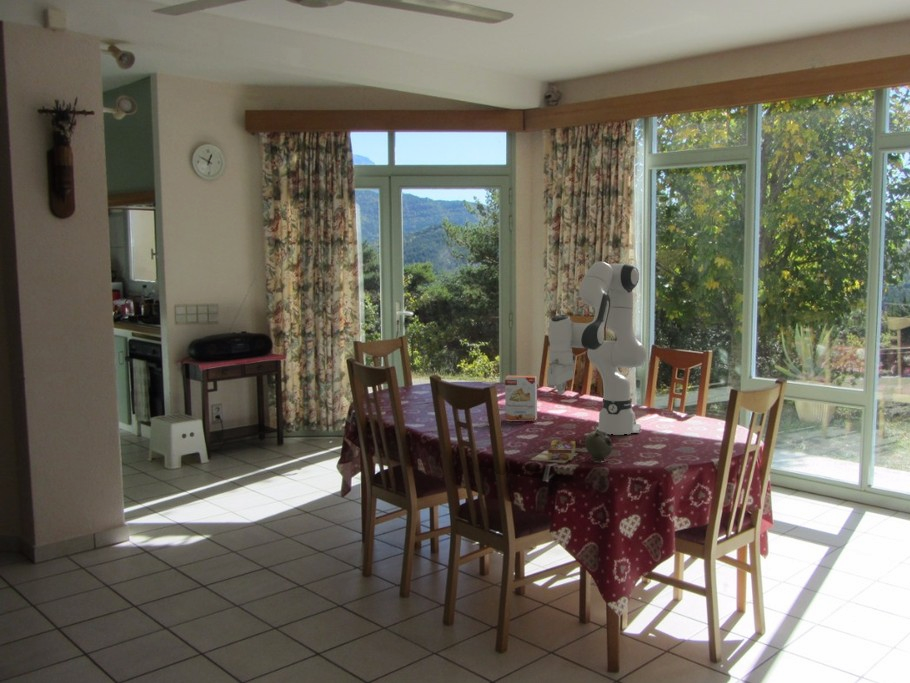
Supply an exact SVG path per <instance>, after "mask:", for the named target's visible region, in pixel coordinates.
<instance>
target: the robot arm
mask: <svg viewBox="0 0 910 683" xmlns="http://www.w3.org/2000/svg"><path fill="white" fill-rule="evenodd" d="M639 279H640V272H639V270H638V268H637V266H635V265H634V264H631V263H617V262H616V263H614V262H613V263H607V262H605V261H596V262H594V263H593V264H592V265H591V266H590V267H589V268H588V270H587V271H586V273H585V275H584V276H583V278H582V280H581V282H580V285H579V288H578V295H579V297H580V299H581V301H582V302H583V303H584V304H585V305H587V306H589V307H591V308H594V309H595V312H594V316H593V320H592V321H590V322H575V321H572V319H571V317H570V315H565V314H560V315H554V316H552V317H551V318H550V320H549V324H548V325H549V326H548V342H549V347H548V348H549V349H548V363H549V364H550V365H548V368H547V376H546V378H547V381H546V382H547V386H548V387H549V386H550V387H556V390H557V395H558V396H560V395H561V396H562V395H564V394H565V390H566V384H567V382H568V381H570V380H573V379H574V377H575V366H576V365H575V364H576V363H575V362H576V361H577V360H576V354H575V353H573V348H577V349H586V350H587V352H586V353H587V358H588V360H589V362H590V363H591V364H592V365H594V367H595V368H596V369H597V370H598V373H599V374H600V377H601V380H602V386H603V399H602V402H601V404H602V409H601V410H600V411H599V414H598V415H599V416H598V426H597V427H595V429H596V428H597V429H598V430H599V431H601V432H605V433H606V434H607V435H611V434H613V436H623V435H624V434H627V435H632V434H631V433H638V434H640V431H641V428H640V427H642V425H641V424H639V423H637V421H636V418H637V417H636V413H635V412H634V410H633V409H632V407H633V406H632V404H633V403H632V402H633V398H632V397H631V383H630V380H629V379H628V378H627V376H625V375H623V374H622V373H621V371H620V369H619V368H625V369H626V368H628V369H629V368H630V369H632V368H638V367H641V366H643V365H645V363H646V360H647V358H648V353H647V349H646V347H645V346H644V344H642V342H640V341H639V339H638V338H637V336H636V334H635V331H634V326H633V318H634V317H633V316H634V293H633V290H634V289H635V288H636V287H637V285H638V284H639ZM608 291H609V292H608ZM606 328H607V330H609V331H610V332H612V333H614V334H615V337H616V340H605V336H606V333H605V332H606ZM597 429H596V430H597ZM639 430H640V431H639ZM624 436H625V435H624Z"/></svg>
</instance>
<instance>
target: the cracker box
mask: <svg viewBox="0 0 910 683" xmlns="http://www.w3.org/2000/svg"><path fill="white" fill-rule="evenodd" d="M537 381H538V377H537V376H536V375H515V374H514V375H513V374H512V375H511V374H510V375H509V374H508V375H506V376H505V377H504V382H505V384H504V389H505V391H504V392H505V393H504V395H505V396H504V400H505V402H504V403H505V406H504V407H505V408H504V410H505V417H504V418H505V420H506V419H509V420H531V421H535V420H536V419H537V420H538V390H537V389H538V388H537V386H538V383H537ZM537 420H536V421H537Z"/></svg>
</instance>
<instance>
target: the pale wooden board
mask: <svg viewBox="0 0 910 683" xmlns="http://www.w3.org/2000/svg"><path fill="white" fill-rule="evenodd" d="M578 454H579V452H578V453H577V452H575V453H574V456H575V457H576V456H578ZM574 456H573V458H574ZM531 461H536V462H547V463H548V462H549V463H557V464H558V463H559V464H565V463H567V462H569V461H570V460H550V459H548V449H546V450H544V451H542V452H541V453H539V454H537V455H536V456H534V457H532V458H531Z"/></svg>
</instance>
